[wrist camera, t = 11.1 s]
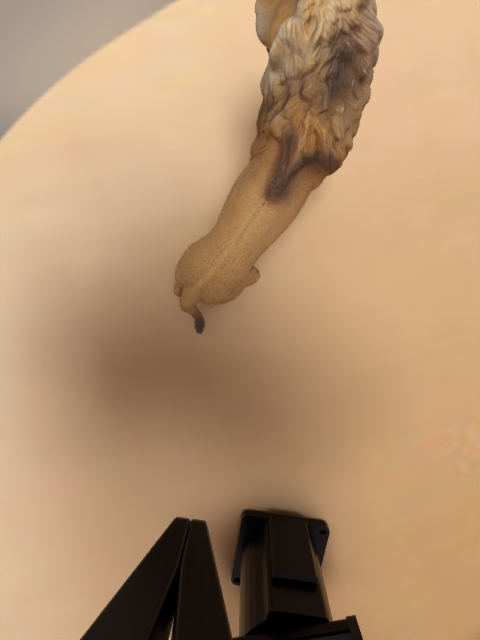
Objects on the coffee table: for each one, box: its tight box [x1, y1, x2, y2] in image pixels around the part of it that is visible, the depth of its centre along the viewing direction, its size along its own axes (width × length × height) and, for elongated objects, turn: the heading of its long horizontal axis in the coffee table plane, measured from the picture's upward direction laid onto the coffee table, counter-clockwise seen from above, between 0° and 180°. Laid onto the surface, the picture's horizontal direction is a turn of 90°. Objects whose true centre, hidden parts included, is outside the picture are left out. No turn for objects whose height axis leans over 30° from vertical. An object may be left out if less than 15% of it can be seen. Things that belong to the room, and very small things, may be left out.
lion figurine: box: [174, 0, 384, 334], centre depth 13 cm, size 15×5×9 cm, turn 155°
